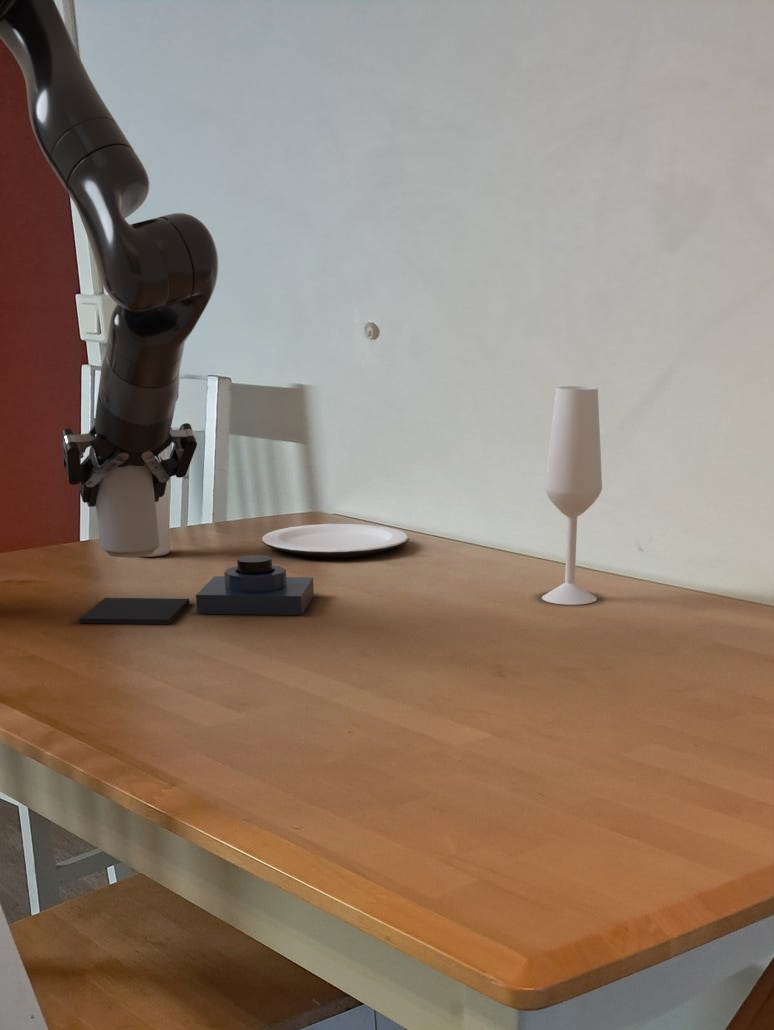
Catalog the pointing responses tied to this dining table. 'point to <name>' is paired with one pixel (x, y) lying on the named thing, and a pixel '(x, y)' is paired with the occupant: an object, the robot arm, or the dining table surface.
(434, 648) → the dining table surface
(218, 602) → the button box
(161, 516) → the drinking glass
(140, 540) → the beverage can
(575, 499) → the champagne flute
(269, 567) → the button
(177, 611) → the coaster
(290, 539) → the plate
